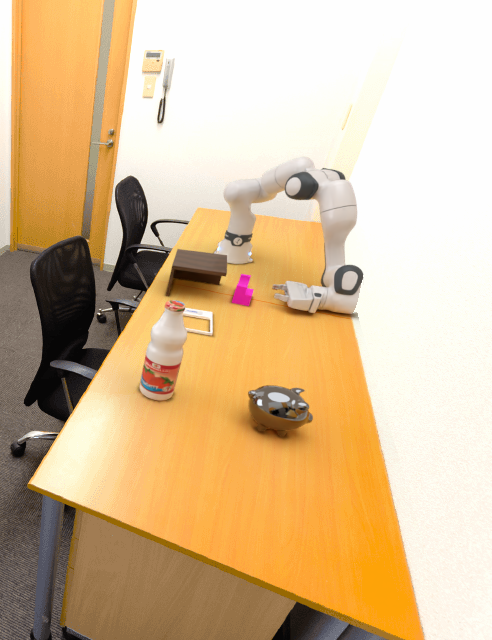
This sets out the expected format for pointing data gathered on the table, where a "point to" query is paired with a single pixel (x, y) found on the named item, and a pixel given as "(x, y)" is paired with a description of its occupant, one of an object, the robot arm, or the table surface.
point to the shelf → (197, 267)
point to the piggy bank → (278, 408)
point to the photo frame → (202, 315)
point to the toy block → (243, 291)
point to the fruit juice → (164, 353)
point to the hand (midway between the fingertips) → (273, 291)
